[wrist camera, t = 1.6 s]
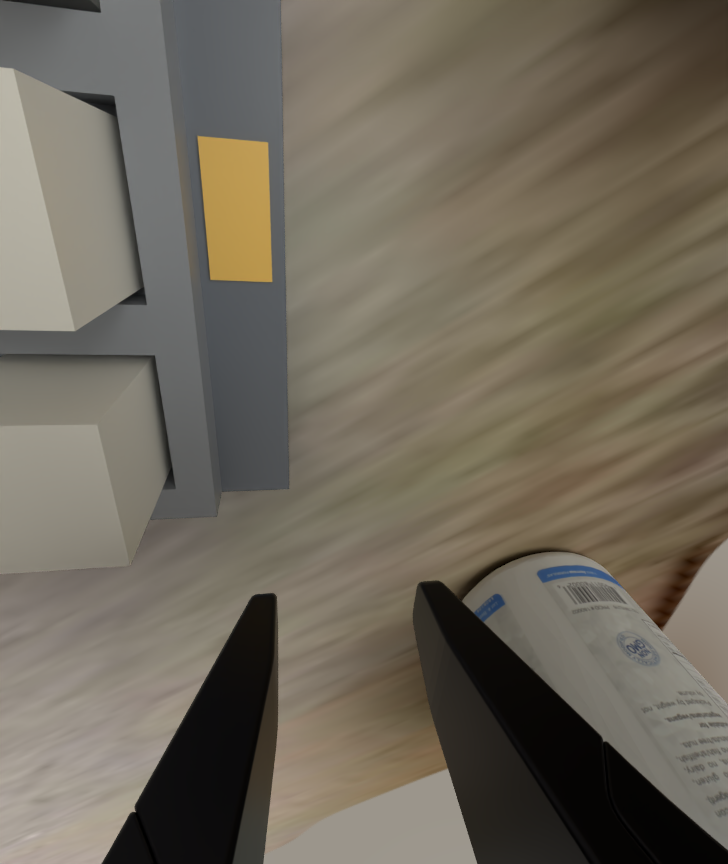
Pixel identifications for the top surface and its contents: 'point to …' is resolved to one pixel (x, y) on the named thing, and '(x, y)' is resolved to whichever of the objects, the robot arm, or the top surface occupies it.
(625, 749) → the supplement tub
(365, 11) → the top surface
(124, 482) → the light grey block
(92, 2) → the beige grey rectangular block
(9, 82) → the light grey block
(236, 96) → the grey compartment tray
